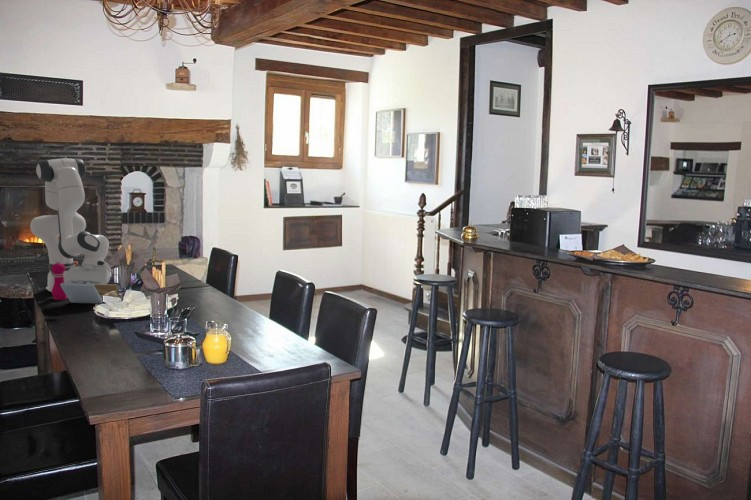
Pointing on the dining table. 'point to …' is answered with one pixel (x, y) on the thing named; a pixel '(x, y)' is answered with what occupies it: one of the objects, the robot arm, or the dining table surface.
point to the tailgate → (81, 293)
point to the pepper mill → (58, 281)
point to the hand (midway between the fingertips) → (82, 291)
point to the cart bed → (107, 290)
